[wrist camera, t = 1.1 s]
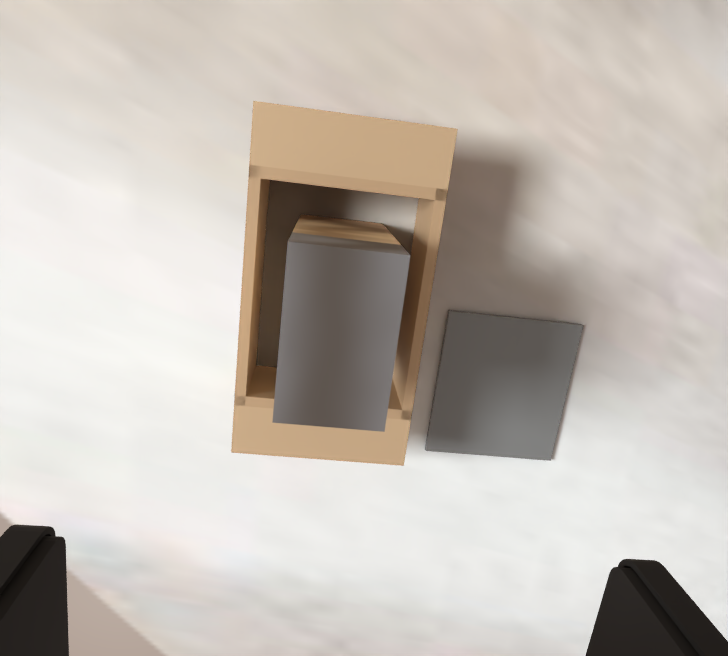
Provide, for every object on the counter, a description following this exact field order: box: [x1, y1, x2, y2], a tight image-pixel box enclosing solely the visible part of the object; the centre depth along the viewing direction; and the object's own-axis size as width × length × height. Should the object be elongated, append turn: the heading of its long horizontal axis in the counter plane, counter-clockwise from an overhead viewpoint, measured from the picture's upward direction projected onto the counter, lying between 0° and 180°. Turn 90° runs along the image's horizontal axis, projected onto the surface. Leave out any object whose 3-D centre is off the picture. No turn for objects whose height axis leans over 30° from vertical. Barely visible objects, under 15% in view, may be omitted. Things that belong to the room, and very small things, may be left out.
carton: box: [231, 101, 457, 466], centre depth 33 cm, size 10×19×5 cm, turn 173°
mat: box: [425, 311, 583, 461], centre depth 38 cm, size 9×10×1 cm
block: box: [272, 214, 410, 432], centre depth 29 cm, size 5×8×12 cm, turn 173°
